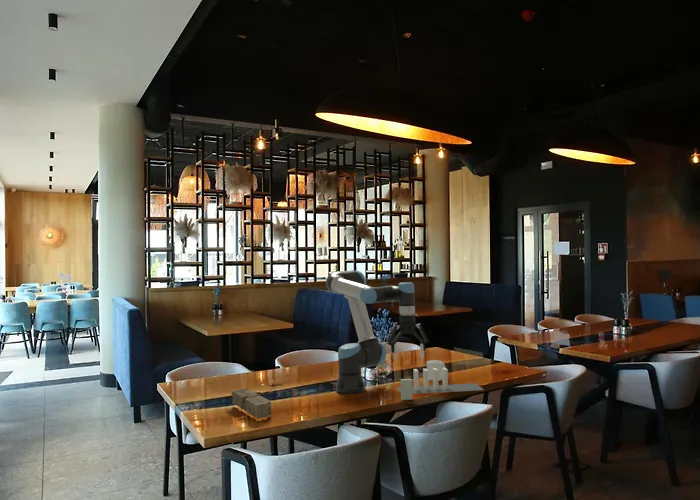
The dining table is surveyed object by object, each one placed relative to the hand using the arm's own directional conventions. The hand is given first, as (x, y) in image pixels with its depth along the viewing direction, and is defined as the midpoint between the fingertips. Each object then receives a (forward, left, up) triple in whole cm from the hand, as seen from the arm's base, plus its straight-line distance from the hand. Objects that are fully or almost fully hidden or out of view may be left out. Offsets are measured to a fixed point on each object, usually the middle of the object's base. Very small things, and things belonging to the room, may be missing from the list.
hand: (408, 358), depth 258 cm
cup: (+22, +34, -20) cm, 45 cm away
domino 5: (+21, +13, -19) cm, 31 cm away
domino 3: (+11, +13, -19) cm, 25 cm away
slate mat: (+18, +13, -19) cm, 29 cm away
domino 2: (+6, +13, -19) cm, 24 cm away
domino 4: (+16, +13, -19) cm, 28 cm away
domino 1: (-2, -3, -19) cm, 20 cm away
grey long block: (-75, -9, -20) cm, 78 cm away
